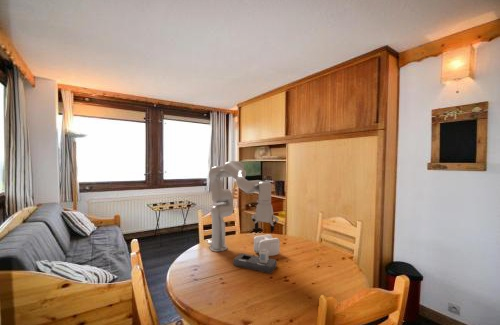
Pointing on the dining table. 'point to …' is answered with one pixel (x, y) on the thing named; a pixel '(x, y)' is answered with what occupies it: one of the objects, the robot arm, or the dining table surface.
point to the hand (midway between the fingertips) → (264, 230)
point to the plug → (264, 256)
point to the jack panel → (254, 263)
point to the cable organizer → (267, 244)
